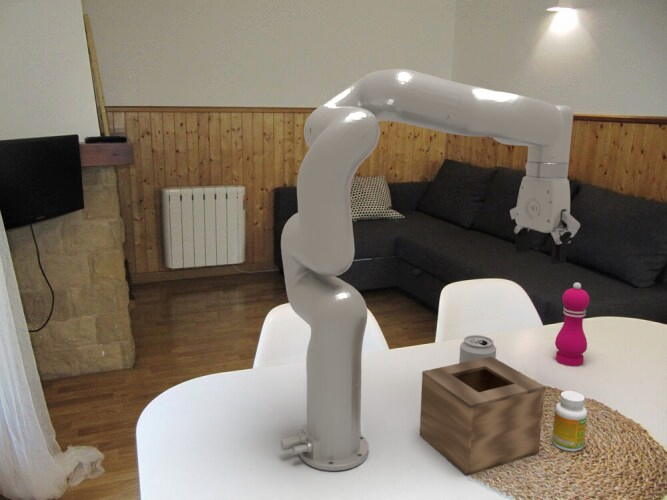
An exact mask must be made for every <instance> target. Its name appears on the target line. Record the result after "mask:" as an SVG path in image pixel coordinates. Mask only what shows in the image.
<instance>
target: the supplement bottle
mask: <svg viewBox="0 0 667 500" xmlns="http://www.w3.org/2000/svg"><path fill="white" fill-rule="evenodd" d="M559 401H560V402H558V403H557V404H556V405H555V408H554V417H553V419H554V420H553V427H552V436H551V437H552V439H551V441H552V443H553V445H555V447H557V448H558V449H560V450H563V451H566V452H578V451H577V450H579V451H581V450H582V449H583V448H584V443H585V435H586V427H587V419H588V410H587V408H586V407H585V396H584V395H583V394H582V393H580V392H577V391H572V390H564V391H561V393H560V398H559ZM580 449H581V450H580Z"/></svg>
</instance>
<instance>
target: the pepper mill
mask: <svg viewBox="0 0 667 500" xmlns="http://www.w3.org/2000/svg"><path fill="white" fill-rule="evenodd" d="M561 301H562V303H563V305H564V306H563V310H562V313H563V314H564V321H563V324H562V327H561V329H560V330H559V331H558V332H557V335H556V337H555V342H554V345H555V347H556V349H557V350H556V353H555V360H556V362H558V363H559V364H561V365H564V366H570V367H578V366H582V365H583V364H584V358H585V357H584V353H585V352H586V351H587V349H588V342H587V341H588V340H587V337H586V334H585V332H584V328H583V322H584V317H585V316H586V313H587V310H586V308H587V307H588V306H589V304H590V296H589V294H588V292H587V291H586V290H584V289H582V284H581V283H580V282H574V283H573V285H572V288H568V289H566V290H565V291H564V293H563V294H562V299H561Z"/></svg>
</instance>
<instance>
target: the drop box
mask: <svg viewBox="0 0 667 500" xmlns="http://www.w3.org/2000/svg"><path fill="white" fill-rule="evenodd" d="M421 375H422V376H421V396H420V397H421V398H420V418H419V419H420V421H419V436H420V437H421V438H422V439H423V440H425V441H426V443H428V444H429V445H430V446H431V447H433V448H434V449H435V451H437V452H438V453H439V454H441V455H442V456H443V458H445V459H446V460H448V462H450V463H451V464H452V465H453V466H454V467H455V468H456V469H457V470H459V471H460V472H461V473H462V474H463V475H464V476H466V477H467V476H470V475H473V474H477V473H480V472H482V471H486V470H489V469H493V468H497V467H500V466H501V465H505V464H508V463H511V462H515V461H517V460H520V459H525V458H528V457H531V456H533V455H537V454H539V453H540V443H541V432H542V423H543V413H544V411H543V410H544V402H545V401H544V400H545V392H546V390H545V389H546V386H545V385H543V384H542V383H540V382H538V381H536V379H535V380H534V379H532V378H531V377H529V376H527V375H526V374H524V373H522V372H520V371H519V370H517V369H515V368H513V367H512V366H510V365H507V364H505V363H504V362H502V361H501V360H499V359H498V358H496V359H495V358H494V357H492V356H491V357H486V358H482V359H477V360H472V361H468V362H463V363H455V364H450V365H445V366H440V367H435V368H432V369H426V370H423V371H422V373H421Z"/></svg>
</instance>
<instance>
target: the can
mask: <svg viewBox="0 0 667 500" xmlns="http://www.w3.org/2000/svg"><path fill="white" fill-rule="evenodd" d="M491 356H492V357H494V358H495V359H497V358H496V356H497V347H496V345H494V340H493V339H492V338H491V337H488V336H485V335H479V334H471V335H470V334H469V335H466V336H465V337H464V338H463V342H461V343H460V346H459V360H458V361H459V363H463V362H468V361H472V360H477V359H482V358H486V357H491ZM459 363H458V364H459Z"/></svg>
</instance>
